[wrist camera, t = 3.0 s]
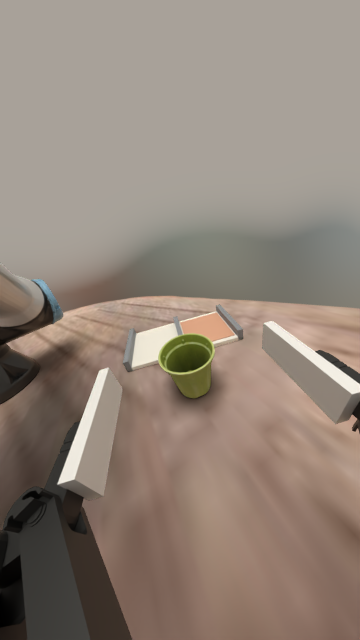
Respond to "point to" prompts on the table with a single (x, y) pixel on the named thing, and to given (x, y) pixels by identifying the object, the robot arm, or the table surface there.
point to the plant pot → (188, 363)
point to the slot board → (149, 343)
